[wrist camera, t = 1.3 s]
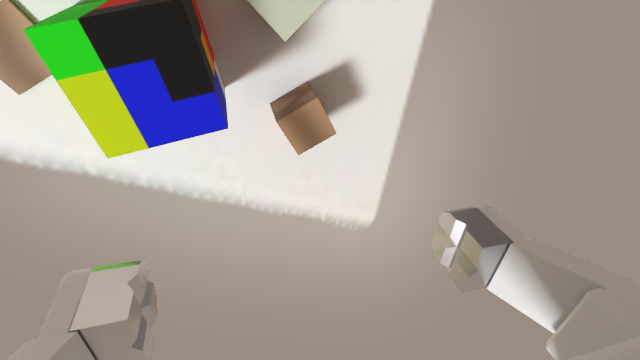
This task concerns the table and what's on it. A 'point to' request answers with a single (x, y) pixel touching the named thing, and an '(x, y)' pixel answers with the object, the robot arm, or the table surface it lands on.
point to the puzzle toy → (134, 71)
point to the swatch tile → (18, 51)
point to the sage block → (285, 14)
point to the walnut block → (302, 118)
